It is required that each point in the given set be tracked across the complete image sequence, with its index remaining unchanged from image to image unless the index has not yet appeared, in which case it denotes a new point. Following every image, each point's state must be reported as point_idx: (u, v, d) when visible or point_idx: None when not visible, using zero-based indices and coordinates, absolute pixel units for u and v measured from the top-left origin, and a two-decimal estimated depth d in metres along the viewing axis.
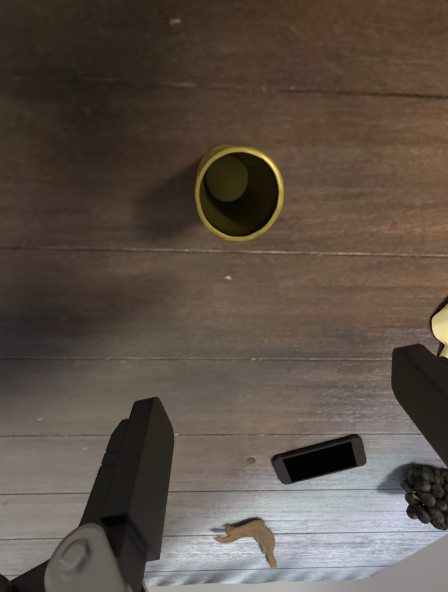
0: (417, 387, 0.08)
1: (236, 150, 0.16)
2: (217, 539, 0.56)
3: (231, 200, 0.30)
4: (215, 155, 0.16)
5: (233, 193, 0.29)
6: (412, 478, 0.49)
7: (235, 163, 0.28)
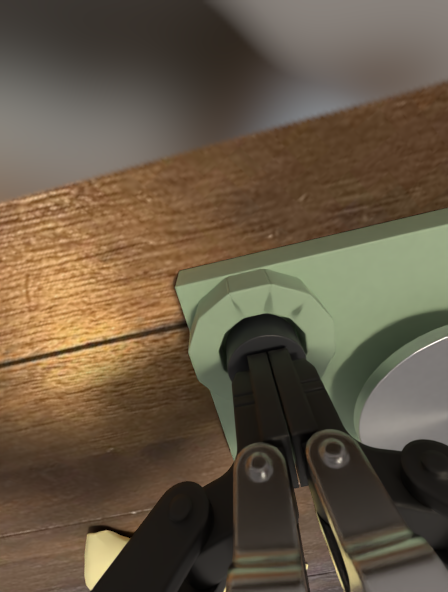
0: (276, 385, 0.10)
1: None
2: None
3: None
4: None
5: None
6: None
7: None
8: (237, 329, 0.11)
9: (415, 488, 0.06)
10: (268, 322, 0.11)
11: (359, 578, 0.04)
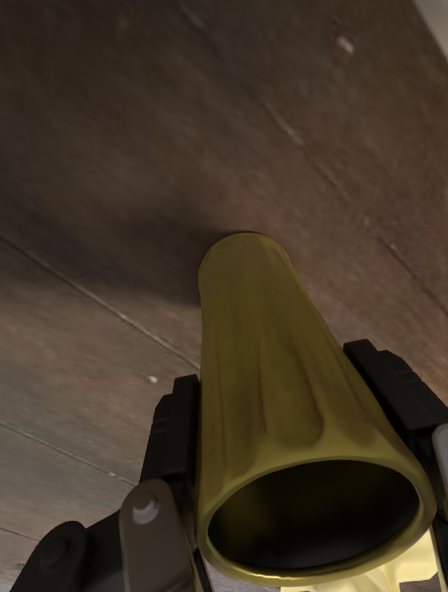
0: None
1: (401, 472, 0.05)
2: None
3: None
4: (353, 454, 0.05)
5: None
6: None
7: None
8: None
9: None
10: None
11: None
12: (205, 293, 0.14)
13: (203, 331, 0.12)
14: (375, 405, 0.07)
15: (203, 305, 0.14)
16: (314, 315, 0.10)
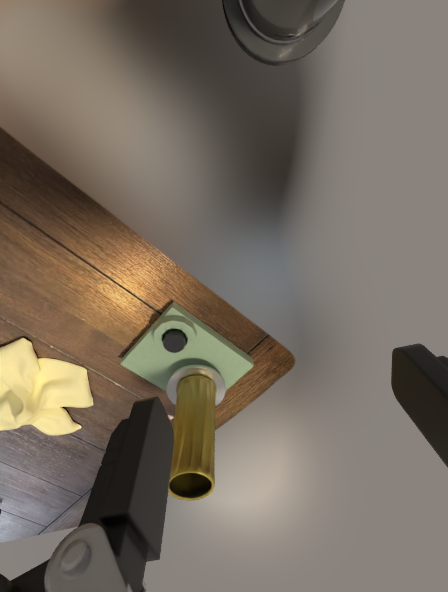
0: (418, 387, 0.08)
1: (202, 474, 0.31)
2: None
3: None
4: (192, 471, 0.30)
5: None
6: None
7: None
8: (175, 330, 0.40)
9: None
10: (183, 335, 0.40)
11: None
12: (176, 408, 0.40)
13: (173, 429, 0.37)
14: (208, 459, 0.32)
15: (175, 415, 0.39)
16: (203, 429, 0.35)
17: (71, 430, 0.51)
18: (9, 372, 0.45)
